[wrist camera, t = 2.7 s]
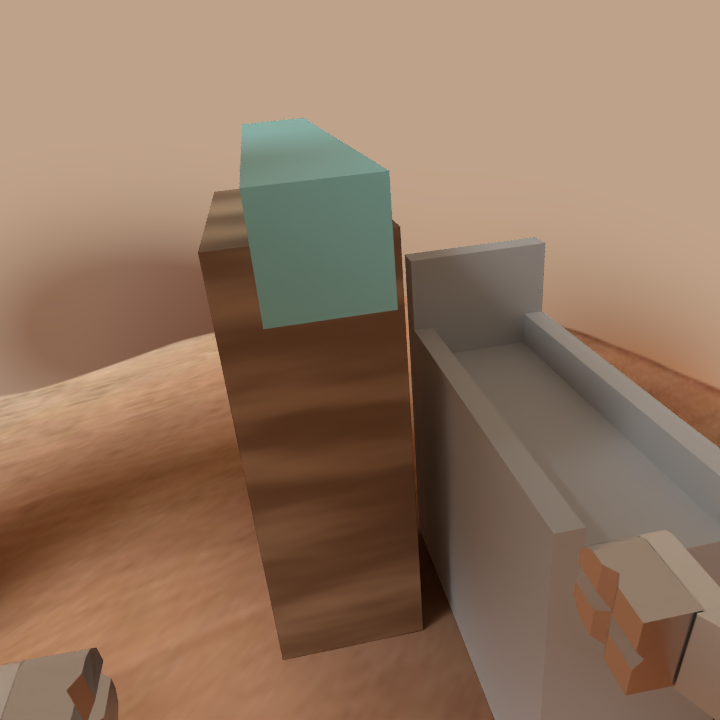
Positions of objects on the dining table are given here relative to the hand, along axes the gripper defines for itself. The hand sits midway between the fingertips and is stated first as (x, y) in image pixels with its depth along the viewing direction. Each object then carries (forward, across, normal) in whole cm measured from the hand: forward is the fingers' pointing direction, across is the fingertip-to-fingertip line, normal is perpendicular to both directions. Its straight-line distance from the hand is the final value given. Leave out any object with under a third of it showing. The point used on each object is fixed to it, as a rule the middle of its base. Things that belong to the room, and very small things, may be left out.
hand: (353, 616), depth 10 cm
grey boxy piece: (+16, +12, -25) cm, 33 cm away
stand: (+26, +1, -26) cm, 36 cm away
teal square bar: (+22, +1, 0) cm, 22 cm away
